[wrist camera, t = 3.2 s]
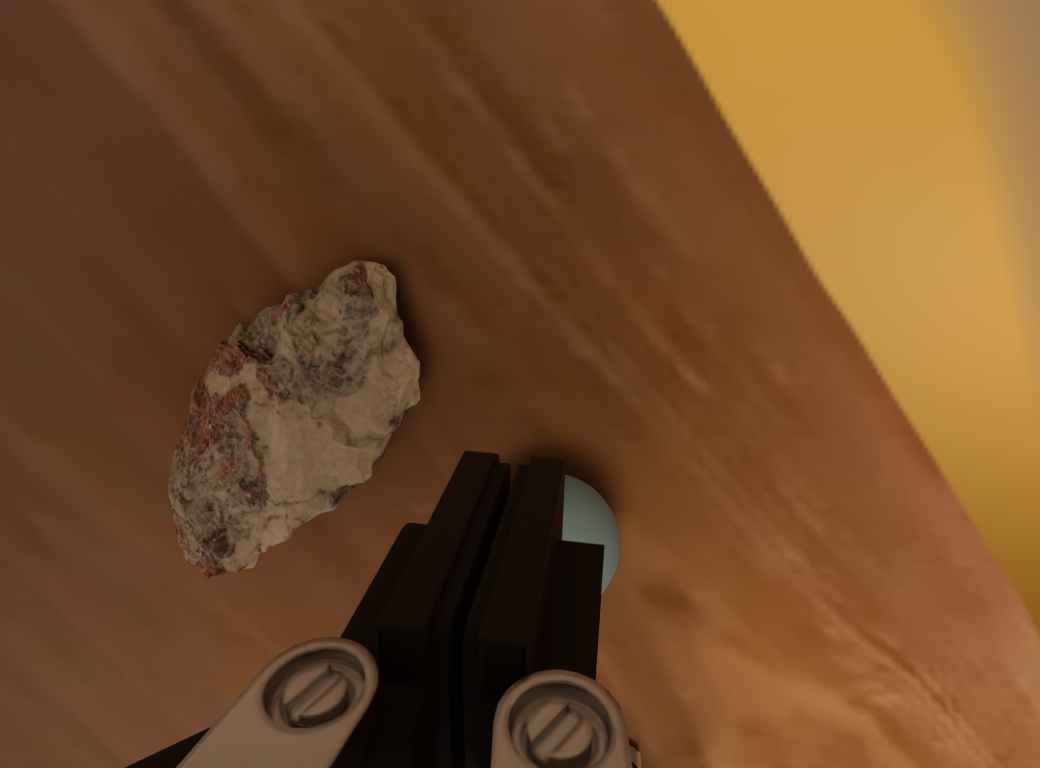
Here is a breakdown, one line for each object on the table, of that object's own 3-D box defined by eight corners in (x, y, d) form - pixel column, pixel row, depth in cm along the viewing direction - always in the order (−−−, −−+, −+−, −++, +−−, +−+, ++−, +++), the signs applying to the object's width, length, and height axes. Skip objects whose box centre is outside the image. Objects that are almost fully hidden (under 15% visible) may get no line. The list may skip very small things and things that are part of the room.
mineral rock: (363, 224, 24) (309, 244, 20) (491, 383, 26) (466, 432, 22) (144, 418, 29) (66, 465, 25) (262, 539, 31) (207, 602, 27)
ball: (495, 548, 29) (468, 638, 24) (495, 443, 27) (466, 517, 22) (615, 561, 28) (614, 657, 23) (625, 454, 26) (626, 533, 21)
